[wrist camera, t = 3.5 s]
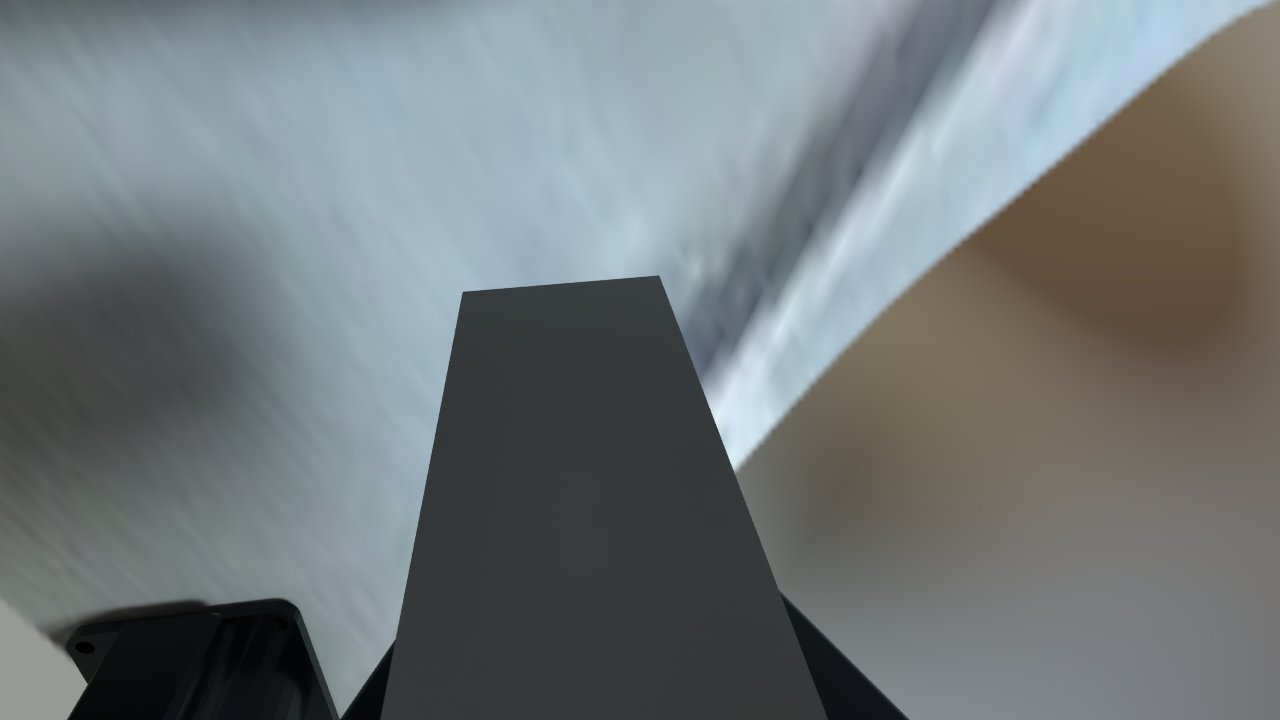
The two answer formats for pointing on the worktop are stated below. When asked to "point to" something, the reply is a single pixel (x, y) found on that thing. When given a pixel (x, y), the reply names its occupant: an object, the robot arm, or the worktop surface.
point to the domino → (586, 529)
